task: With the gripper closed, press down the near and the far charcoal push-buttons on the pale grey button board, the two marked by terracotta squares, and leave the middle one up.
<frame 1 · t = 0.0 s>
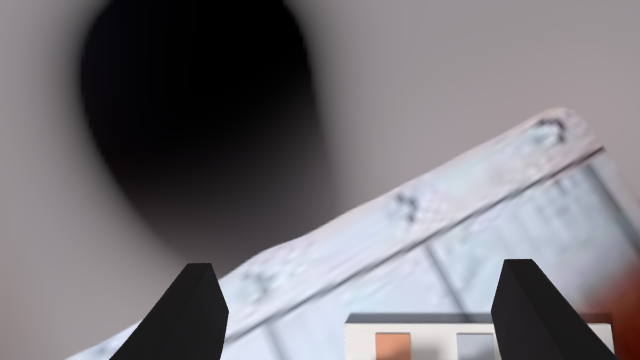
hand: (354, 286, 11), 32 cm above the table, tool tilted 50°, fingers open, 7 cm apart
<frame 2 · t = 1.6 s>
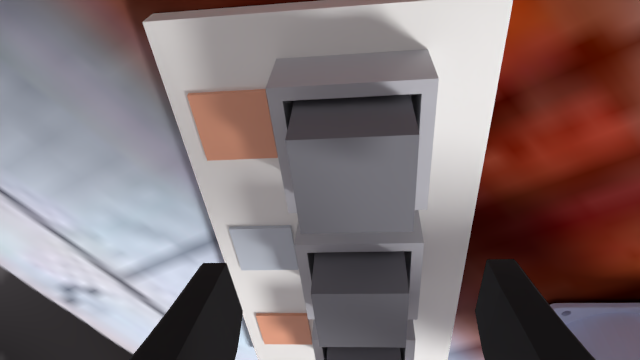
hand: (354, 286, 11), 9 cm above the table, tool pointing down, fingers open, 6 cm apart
button board: (340, 232, 23), on the table
button middle: (360, 293, 19), point 4 cm above the table, slide at 0.0 cm
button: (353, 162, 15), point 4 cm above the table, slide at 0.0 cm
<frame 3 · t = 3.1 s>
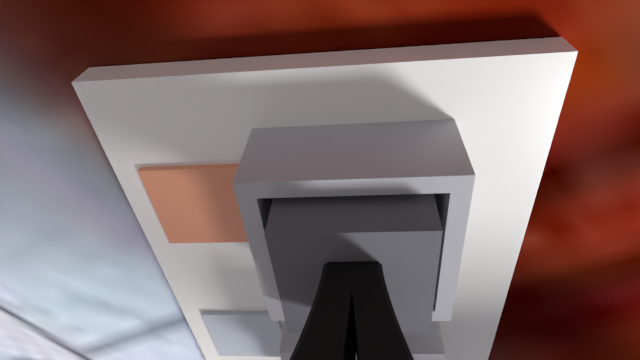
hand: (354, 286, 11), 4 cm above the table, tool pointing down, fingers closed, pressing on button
button board: (338, 313, 19), on the table
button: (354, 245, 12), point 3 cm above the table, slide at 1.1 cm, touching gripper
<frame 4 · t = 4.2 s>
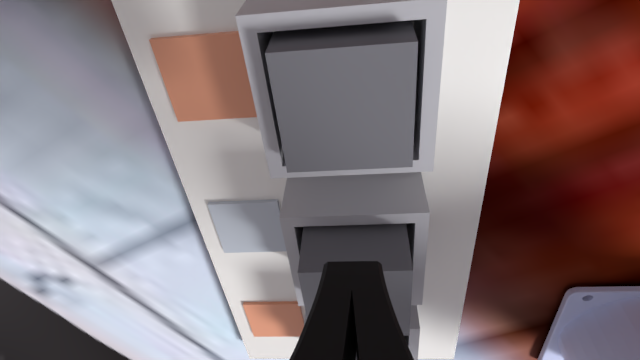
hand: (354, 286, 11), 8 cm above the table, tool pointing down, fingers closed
button board: (334, 208, 20), on the table
button middle: (356, 274, 17), point 4 cm above the table, slide at 0.0 cm
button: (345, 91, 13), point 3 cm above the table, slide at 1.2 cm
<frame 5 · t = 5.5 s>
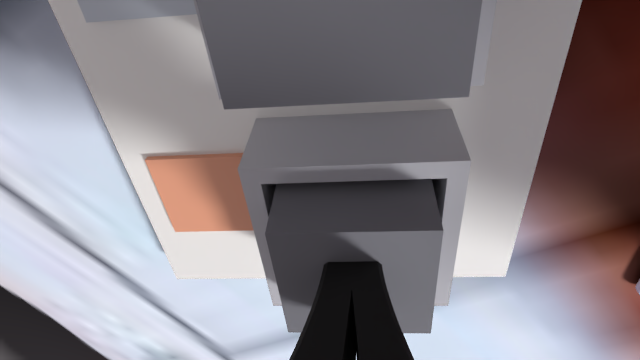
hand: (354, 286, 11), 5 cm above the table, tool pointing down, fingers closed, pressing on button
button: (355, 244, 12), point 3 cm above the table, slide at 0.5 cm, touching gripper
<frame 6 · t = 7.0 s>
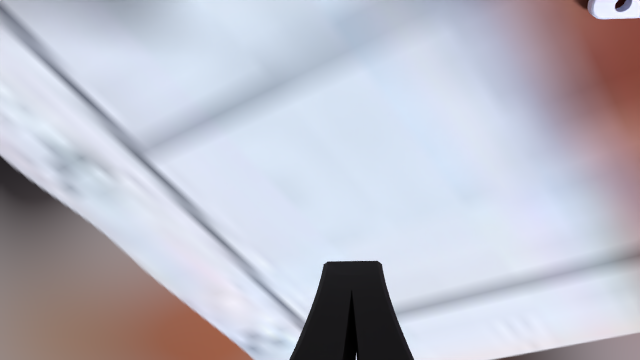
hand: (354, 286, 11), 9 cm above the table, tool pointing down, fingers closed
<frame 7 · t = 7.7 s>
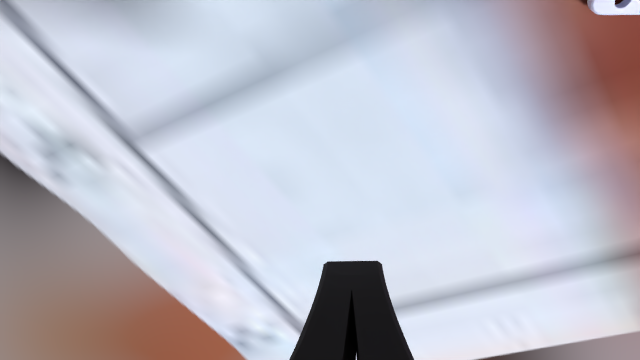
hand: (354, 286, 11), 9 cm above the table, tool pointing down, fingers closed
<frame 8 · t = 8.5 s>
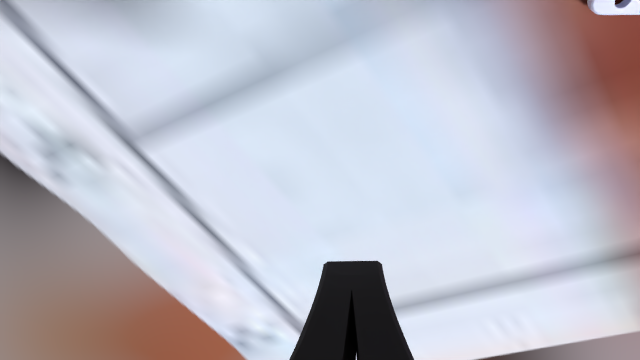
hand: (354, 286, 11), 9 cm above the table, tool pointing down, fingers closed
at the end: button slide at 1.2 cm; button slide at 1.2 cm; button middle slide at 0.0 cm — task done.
